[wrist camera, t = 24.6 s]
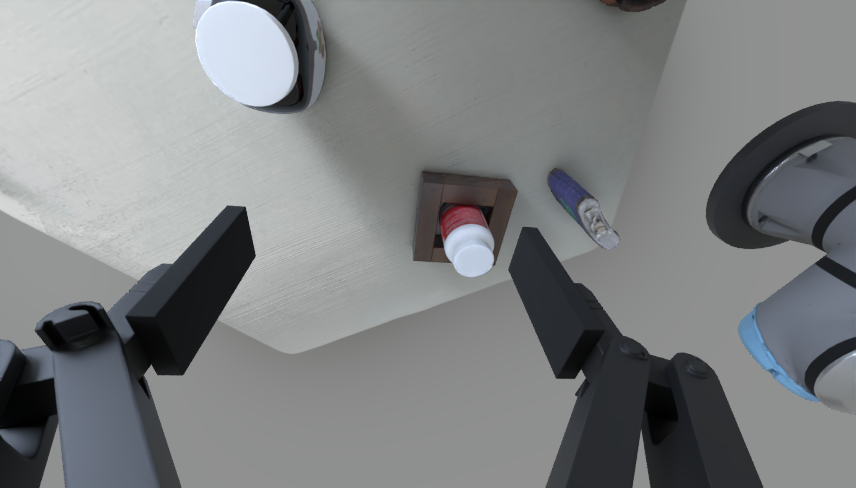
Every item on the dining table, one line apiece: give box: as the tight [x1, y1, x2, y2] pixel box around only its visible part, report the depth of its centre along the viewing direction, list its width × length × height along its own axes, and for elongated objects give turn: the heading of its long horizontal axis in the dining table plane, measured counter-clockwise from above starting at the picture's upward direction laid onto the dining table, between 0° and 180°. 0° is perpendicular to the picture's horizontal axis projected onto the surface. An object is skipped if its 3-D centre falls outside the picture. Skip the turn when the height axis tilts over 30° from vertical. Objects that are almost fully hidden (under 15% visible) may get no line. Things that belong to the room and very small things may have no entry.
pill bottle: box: [439, 203, 494, 277], centre depth 42 cm, size 6×6×11 cm
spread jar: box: [193, 0, 326, 114], centre depth 28 cm, size 12×11×12 cm
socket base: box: [413, 172, 517, 266], centre depth 45 cm, size 12×12×4 cm
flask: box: [547, 168, 620, 249], centre depth 41 cm, size 9×3×11 cm, turn 41°
